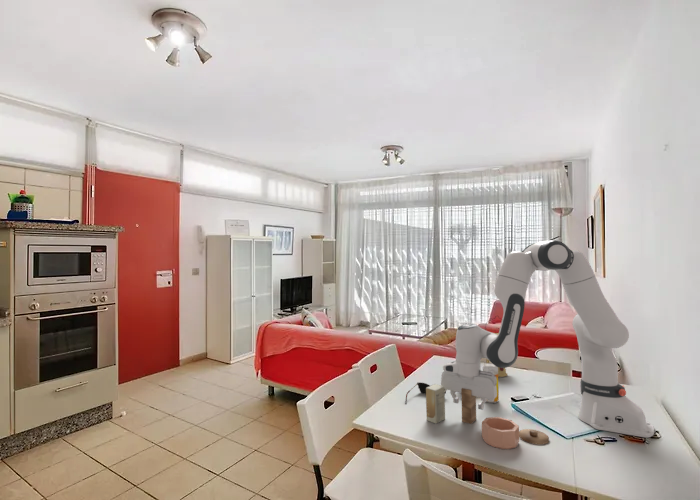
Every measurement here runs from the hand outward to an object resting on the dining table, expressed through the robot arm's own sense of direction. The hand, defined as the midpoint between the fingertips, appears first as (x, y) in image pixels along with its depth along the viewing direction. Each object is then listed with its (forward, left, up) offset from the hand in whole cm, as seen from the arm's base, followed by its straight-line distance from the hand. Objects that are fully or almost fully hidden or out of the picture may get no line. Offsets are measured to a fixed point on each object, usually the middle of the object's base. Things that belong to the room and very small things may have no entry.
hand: (468, 405), depth 140 cm
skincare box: (+10, +7, -6) cm, 13 cm away
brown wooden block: (0, 0, -5) cm, 5 cm away
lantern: (+9, -62, -6) cm, 63 cm away
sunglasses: (+22, -8, -6) cm, 24 cm away
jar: (-14, +9, -5) cm, 18 cm away
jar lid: (-22, 0, -6) cm, 23 cm away
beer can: (0, -24, -6) cm, 25 cm away
